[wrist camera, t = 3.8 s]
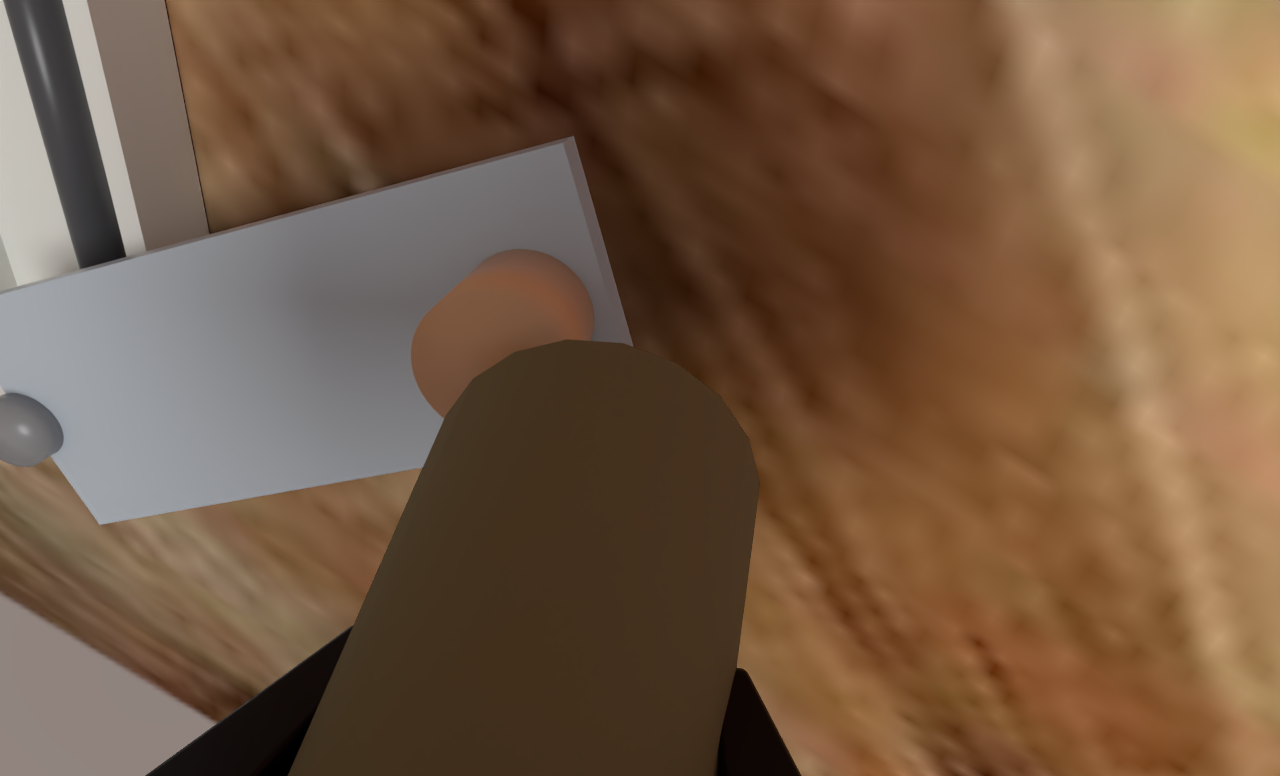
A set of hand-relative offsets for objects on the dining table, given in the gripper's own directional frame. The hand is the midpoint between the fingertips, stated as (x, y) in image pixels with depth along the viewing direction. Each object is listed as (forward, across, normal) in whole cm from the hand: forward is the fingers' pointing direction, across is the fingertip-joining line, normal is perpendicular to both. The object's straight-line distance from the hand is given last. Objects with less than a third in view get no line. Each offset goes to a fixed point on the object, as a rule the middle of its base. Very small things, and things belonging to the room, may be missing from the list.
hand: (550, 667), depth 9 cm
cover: (+10, +9, 0) cm, 13 cm away
